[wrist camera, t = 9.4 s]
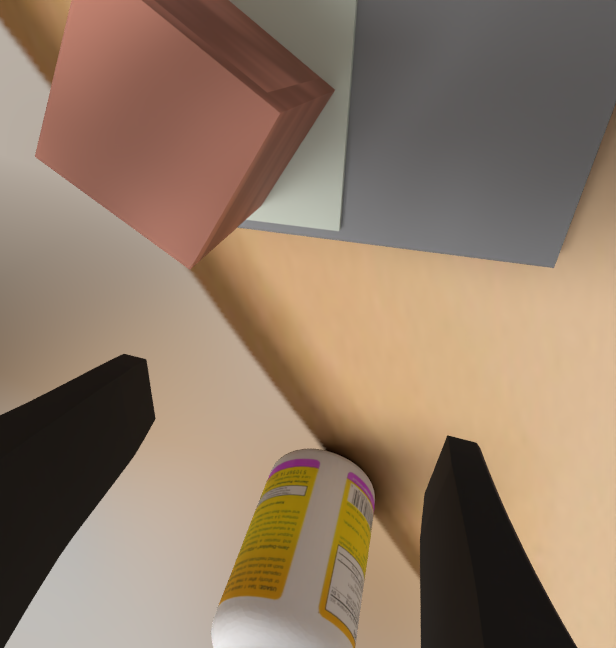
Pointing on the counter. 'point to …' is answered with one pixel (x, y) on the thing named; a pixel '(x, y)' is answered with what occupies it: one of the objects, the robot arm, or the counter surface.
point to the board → (445, 122)
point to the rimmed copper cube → (176, 116)
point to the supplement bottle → (301, 558)
